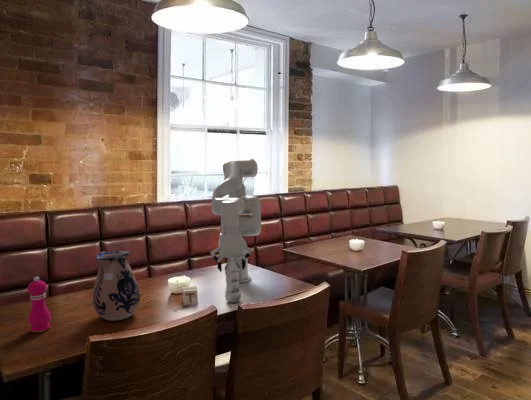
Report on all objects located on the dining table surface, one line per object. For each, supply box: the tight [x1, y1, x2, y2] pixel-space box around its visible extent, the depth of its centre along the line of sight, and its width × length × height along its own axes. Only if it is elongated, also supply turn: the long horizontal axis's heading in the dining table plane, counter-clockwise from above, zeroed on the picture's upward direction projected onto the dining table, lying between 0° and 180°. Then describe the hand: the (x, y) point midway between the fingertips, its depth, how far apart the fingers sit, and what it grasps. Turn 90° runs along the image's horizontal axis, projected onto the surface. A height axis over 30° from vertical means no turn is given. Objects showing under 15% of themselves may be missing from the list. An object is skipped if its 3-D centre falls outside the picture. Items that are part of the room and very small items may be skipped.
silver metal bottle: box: [224, 257, 242, 304], centre depth 177 cm, size 6×7×20 cm
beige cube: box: [182, 285, 199, 306], centre depth 179 cm, size 6×6×6 cm
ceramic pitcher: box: [92, 250, 141, 322], centre depth 165 cm, size 18×21×25 cm
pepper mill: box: [27, 276, 52, 332], centre depth 153 cm, size 7×7×20 cm
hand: (231, 269), depth 178 cm, fingers open, 9 cm apart
